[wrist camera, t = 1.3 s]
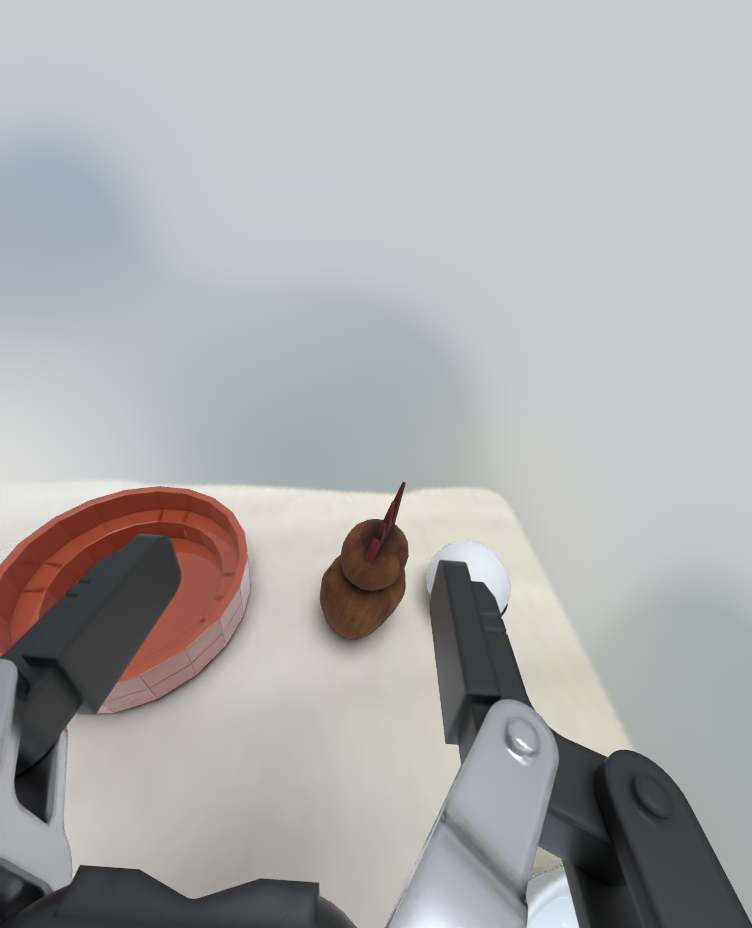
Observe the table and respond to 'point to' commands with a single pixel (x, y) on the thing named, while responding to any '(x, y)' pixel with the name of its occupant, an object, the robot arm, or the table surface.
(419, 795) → the table surface
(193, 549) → the bowl
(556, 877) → the cereal bowl
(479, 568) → the white oval solid
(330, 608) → the wooden figurine
